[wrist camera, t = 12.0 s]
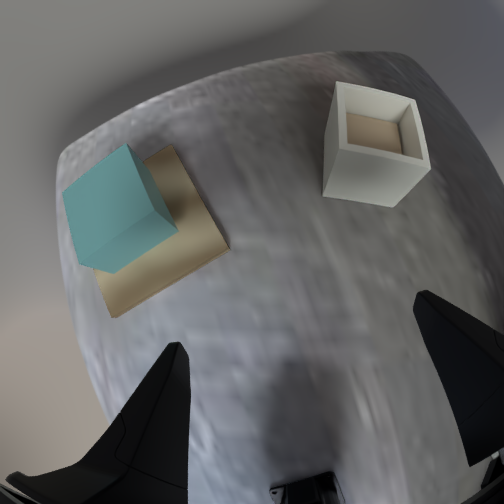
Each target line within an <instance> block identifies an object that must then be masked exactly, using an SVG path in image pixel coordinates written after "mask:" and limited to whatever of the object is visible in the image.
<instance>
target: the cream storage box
mask: <svg viewBox="0 0 504 504" xmlns="http://www.w3.org/2000/svg"><path fill="white" fill-rule="evenodd" d="M430 169H431V167H430V161H429V155H428V150H427V145H426V141H425V136H424V132H423V128H422V124H421V120H420V116H419V112H418V109H417V105H416V102H415V100H414V99H410V98H407V97H404V96H400V95H397V94H393V93H389V92H385V91H381V90H377V89H373V88H369V87H364V86H359V85H354V84H349V83H344V82H338V81H336V84H335V89H334V94H333V98H332V103H331V108H330V112H329V117H328V121H327V125H326V130H325V134H324V168H323V192H322V196H323V197H330V198H337V199H344V200H351V201H357V202H363V203H369V204H375V205H381V206H387V207H392V208H393V207H394V206H395V205H396V204H397V203H398V202H399V201H400V200H401V199H402V198H403V197H404V196H405V195H406V194H407V193H408V192H409V191H410V190H411V189H412V188H413V187H414V186H415V185H416V184H417V183H418V182H419V181H420V180H421V179H422V178H423V177H424V176H425V175H426V174H427V173H428V171H429V170H430Z"/></svg>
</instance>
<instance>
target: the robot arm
mask: <svg viewBox="0 0 504 504" xmlns="http://www.w3.org/2000/svg"><path fill="white" fill-rule="evenodd" d="M413 313H414V315H415V318H416V321H417V323H418V326H419V329H420V332H421V334H422V337H423V340H424V343H425V345H426V348H427V350H428V352H429V354H430V356H431V359H432V361H433V363H434V366H435V368H436V370H437V372H438V375H439V377H440V380H441V382H442V385H443V387H444V390H445V392H446V395H447V397H448V400H449V403H450V406H451V408H452V411H453V414H454V417H455V420H456V423H457V426H458V429H459V433H460V436H461V439H462V442H463V446H464V449H465V453H466V457H467V461H468V464H469V467H471V466H473V465H475V464H477V463H479V462H480V461H482V460H484V459H486V458H487V457H489V456H491V455H492V454H494V453H496V452H497V451H498V453H499V455H498V456H497V457H496V458H494V459H493V460H492V461H490V464H489V466H488V469H487V472H486V474H485V477H484V479H483V482H482V484H481V489H482V490H481V491H479V492H478V493H476V494H475V495H473V496H472V497H470V498H469V499H467V500H466V501H464V502H463V503H461V504H504V335H503V334H501V333H499V332H498V331H496V330H493V328H491V327H490V326H488V325H486V324H485V323H483V322H481V321H480V320H478V319H477V318H475V317H473V316H472V315H470V314H468V313H467V312H465V311H463V310H461V309H460V308H458V307H456V306H455V305H453V304H451V303H449V302H448V301H446V300H444V299H442V298H441V297H439V296H437V295H435V294H434V293H432V292H430V291H428V290H423V291H420V292H418V293H417V294H416V298H415V302H414V305H413ZM190 404H191V387H190V367H189V356H188V354H187V352H186V351H185V349H184V347H183V346H182V344H181V343H180V342H171V343H169V344H168V345H167V346H166V348H165V349H164V351H163V352H162V353H161V355H160V356H159V357H158V359H157V360H156V362H155V363H154V364H153V366H152V367H151V369H150V370H149V371H148V373H147V374H146V376H145V377H144V378H143V380H142V381H141V383H140V384H139V386H138V387H137V388H136V390H135V391H134V393H133V394H132V395H131V397H130V398H129V400H128V401H127V403H126V404H125V405H124V407H123V408H122V410H121V411H120V412H121V413H119V414H118V415H117V417H116V418H115V420H114V421H113V422H112V424H111V425H110V426H109V428H108V429H107V430H106V431H105V433H104V434H103V435H102V436H101V437H100V439H99V440H98V441H97V442H96V443H95V444H94V446H93V447H92V448H91V449H90V450H89V451H88V452H87V454H86V455H85V456H84V457H83V458H82V459H81V460H80V461H78V462H77V463H75V464H73V465H71V466H68V467H65V468H62V469H59V470H56V471H52V472H49V473H45V474H42V475H38V476H27V475H25V474H23V473H21V472H18V471H17V472H14V473H12V474H10V475H9V476H8V477H7V478H6V479H5V480H6V481H7V482H8V483H9V484H11V485H12V486H13V487H15V488H17V489H18V490H19V491H21V492H22V493H24V494H26V495H27V496H29V497H30V498H29V497H27V496H25V495H23V494H20V493H18V492H16V491H14V490H12V489H10V488H8V487H6V486H4V485H2V484H0V504H188V490H187V489H188V447H189V422H190ZM329 475H331V476H330V477H328V476H329ZM273 491H276V492H273ZM269 493H270V496H271V497H272V499H273V501H274V503H275V504H345V501H344V499H343V496H342V493H341V490H340V488H339V485H338V482H337V480H336V477H335V474H334V472H332V471H329V472H326V473H323V474H320V475H317V476H314V477H310V478H307V479H304V480H300V481H297V482H293V483H289V484H286V485H282V486H278V487H274V488H271V489H270V491H269Z"/></svg>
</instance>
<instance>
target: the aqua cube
mask: <svg viewBox="0 0 504 504" xmlns="http://www.w3.org/2000/svg"><path fill="white" fill-rule="evenodd" d="M62 195H63V200H64V205H65V210H66V215H67V219H68V224H69V228H70V232H71V236H72V240H73V244H74V247H75V251H76V254H77V258H78V261H79V264H81V265H84V266H87V267H91V268H94V269H97V270H101V271H104V272H108V273H112V274H115V273H116V272H118V271H119V270H121V269H122V268H124V267H125V266H126V265H128V264H129V263H131V262H132V261H134V260H135V259H137V258H138V257H140V256H141V255H143V254H144V253H146V252H147V251H149V250H150V249H152V248H154V247H155V246H157V245H158V244H160V243H161V242H163V241H164V240H166V239H168V238H169V237H171V236H172V235H174V234H175V233H177V232H179V230H178V228H177V226H176V224H175V222H174V220H173V218H172V216H171V214H170V212H169V210H168V208H167V206H166V204H165V202H164V200H163V198H162V196H161V194H160V192H159V189H158V187H157V185H156V183H155V181H154V179H153V177H152V175H151V172H150V170H149V169H148V168H147V167H146V166H145V165H144V163H143V162H142V161H141V160H140V159H139V158H138V156H137V155H136V154H135V153H134V152H133V151H132V149H131V148H130V147H129V146H128V145H127V143H125V144H124V145H122V146H121V147H119V148H118V149H117V150H115V151H114V152H112V153H111V154H110V155H108V156H107V157H106V158H104V159H103V160H102V161H100V162H99V163H98V164H96V165H95V166H94V167H92V168H91V169H90V170H89V171H87V172H86V173H85V174H84V175H82V176H81V177H80V178H79V179H78V180H76V181H75V182H74V183H73V184H72V185H70V186H69V187H68V188H67V189H66V190H65V191H64V192H62Z"/></svg>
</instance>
